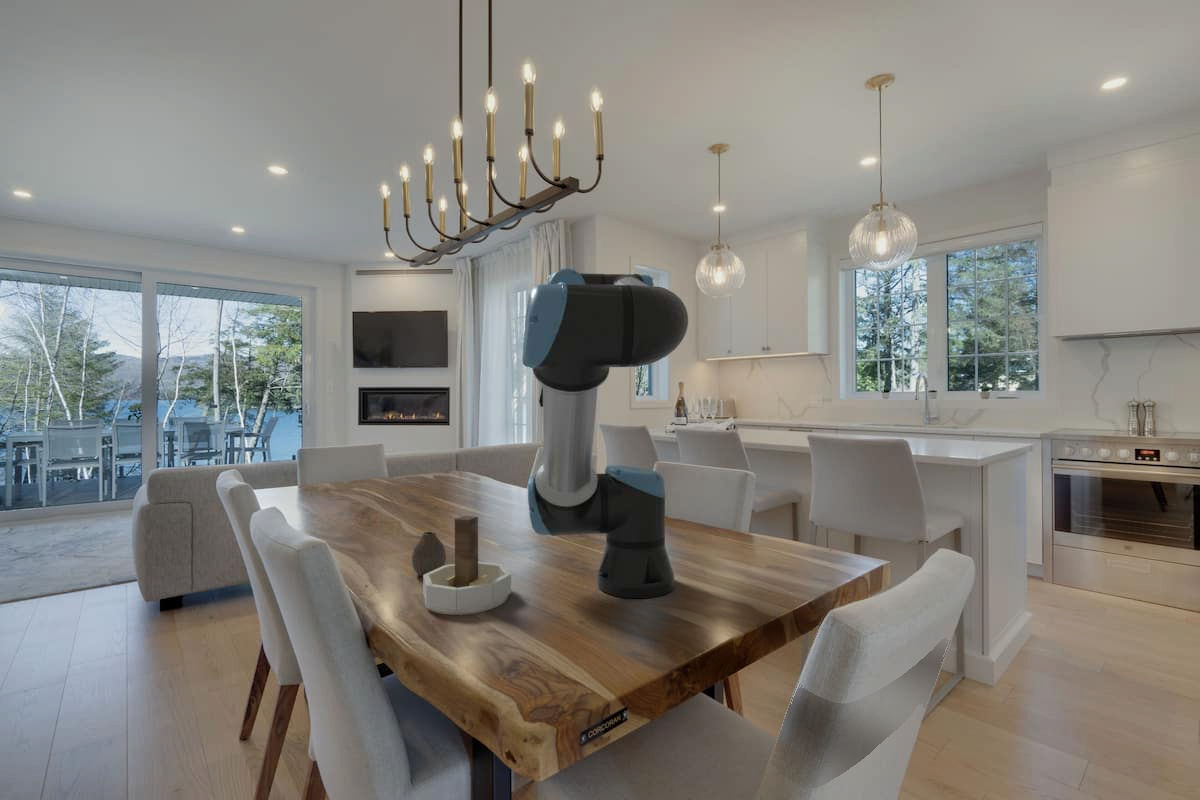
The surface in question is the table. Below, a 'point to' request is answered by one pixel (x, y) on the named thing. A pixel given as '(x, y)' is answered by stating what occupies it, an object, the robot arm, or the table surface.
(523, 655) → the table surface
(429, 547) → the vase
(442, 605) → the white octagonal bowl
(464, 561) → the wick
